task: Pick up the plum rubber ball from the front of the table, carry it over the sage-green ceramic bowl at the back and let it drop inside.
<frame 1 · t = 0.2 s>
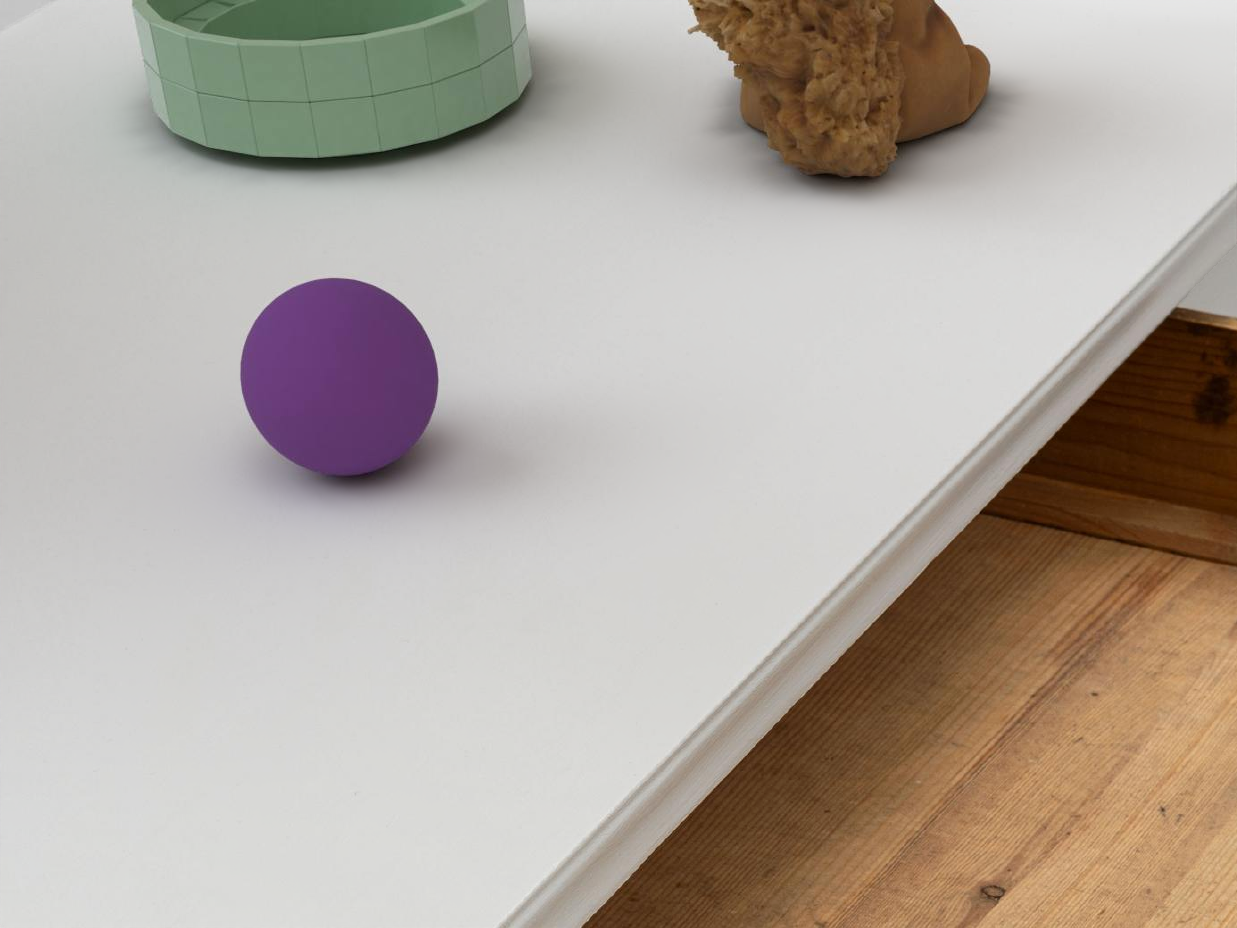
stuffed squirrel: (843, 143, 101), on the table
bowl: (346, 98, 106), on the table
ball: (354, 463, 82), on the table
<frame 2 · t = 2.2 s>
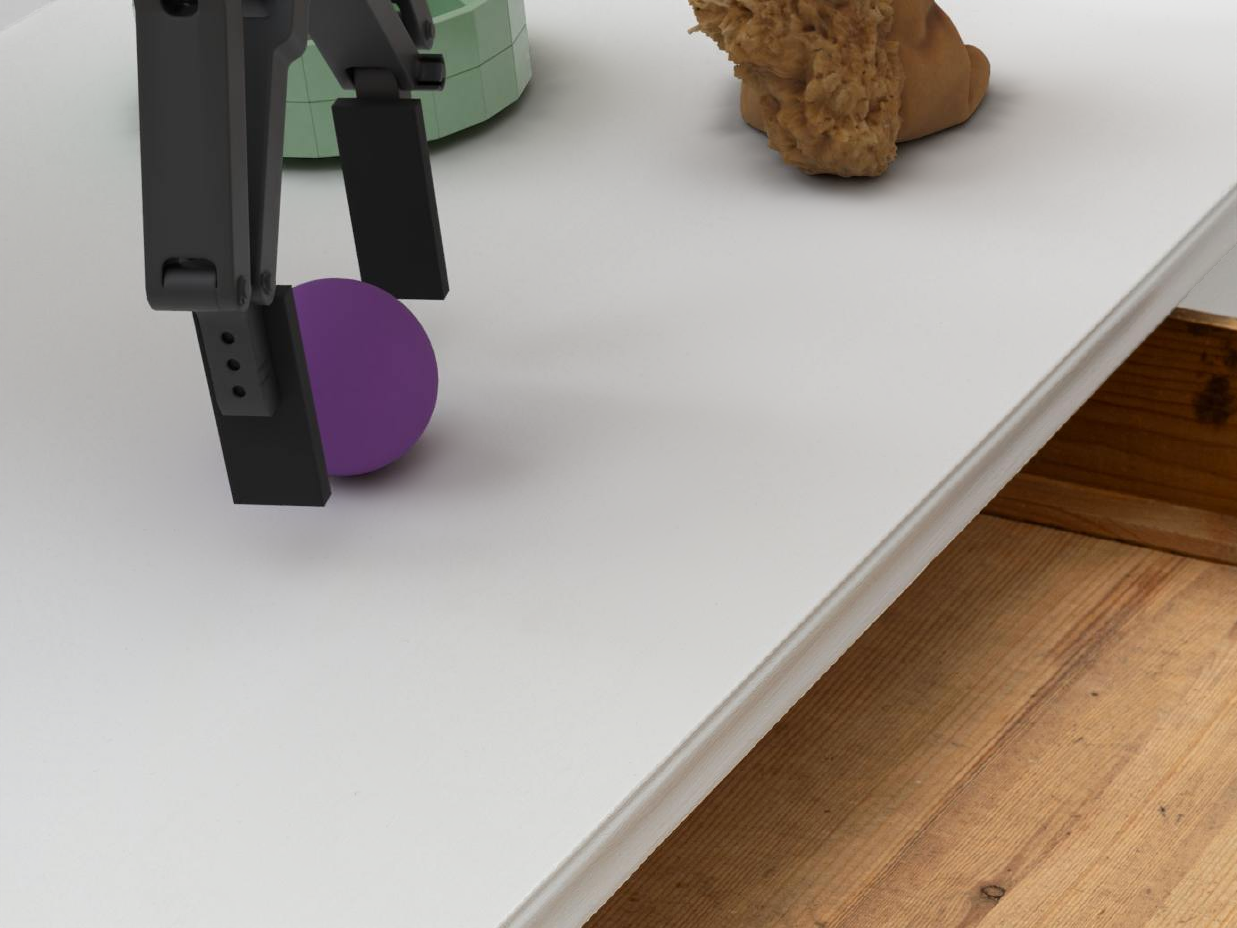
hand: (349, 391, 80), 3 cm above the table, tool pointing down, fingers open, 13 cm apart
nothing on the table moved.
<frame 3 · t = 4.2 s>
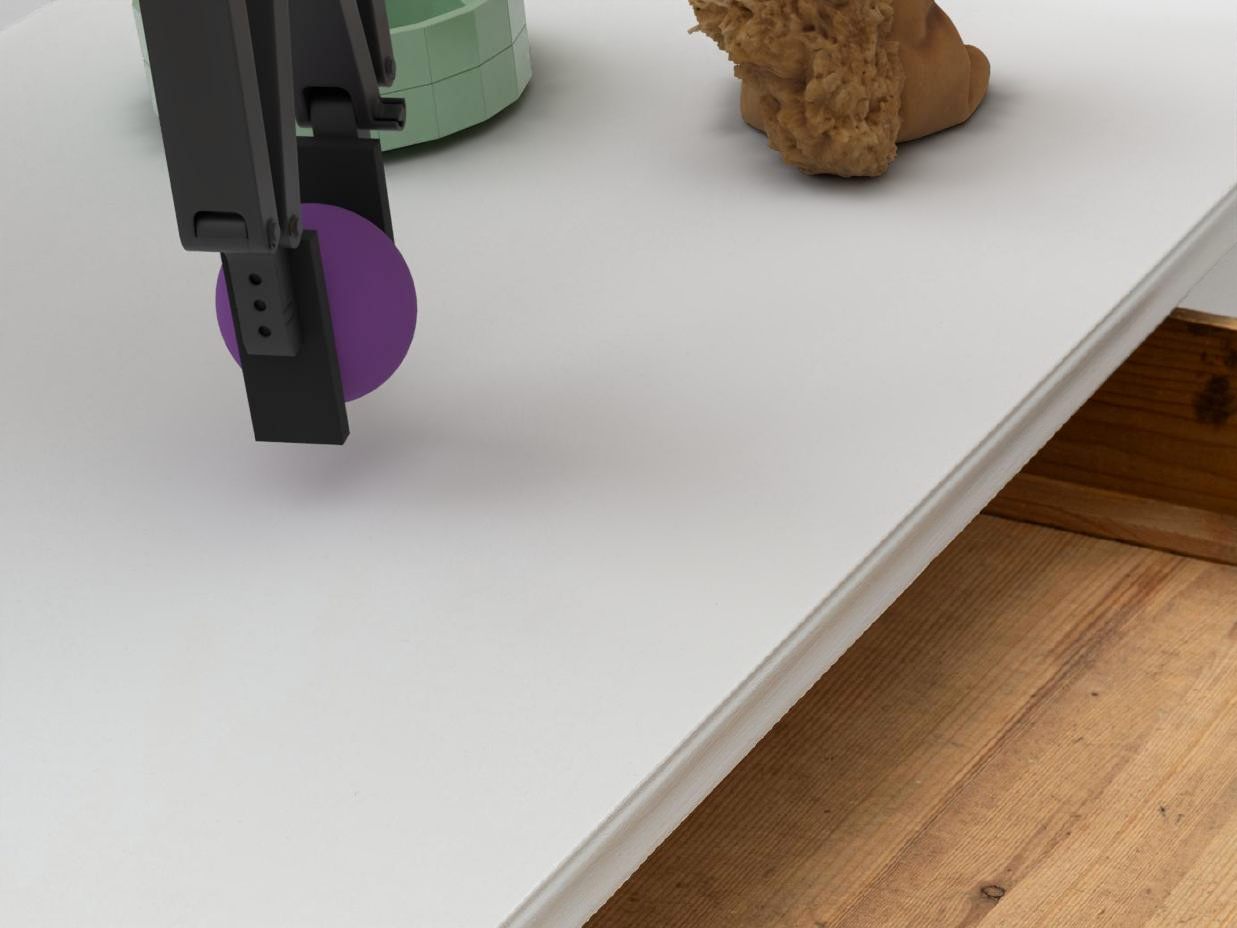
hand: (334, 384, 80), 3 cm above the table, tool pointing down, fingers closed on ball, 6 cm apart
ball: (331, 394, 80), point 2 cm above the table, touching gripper
everything else where it was.
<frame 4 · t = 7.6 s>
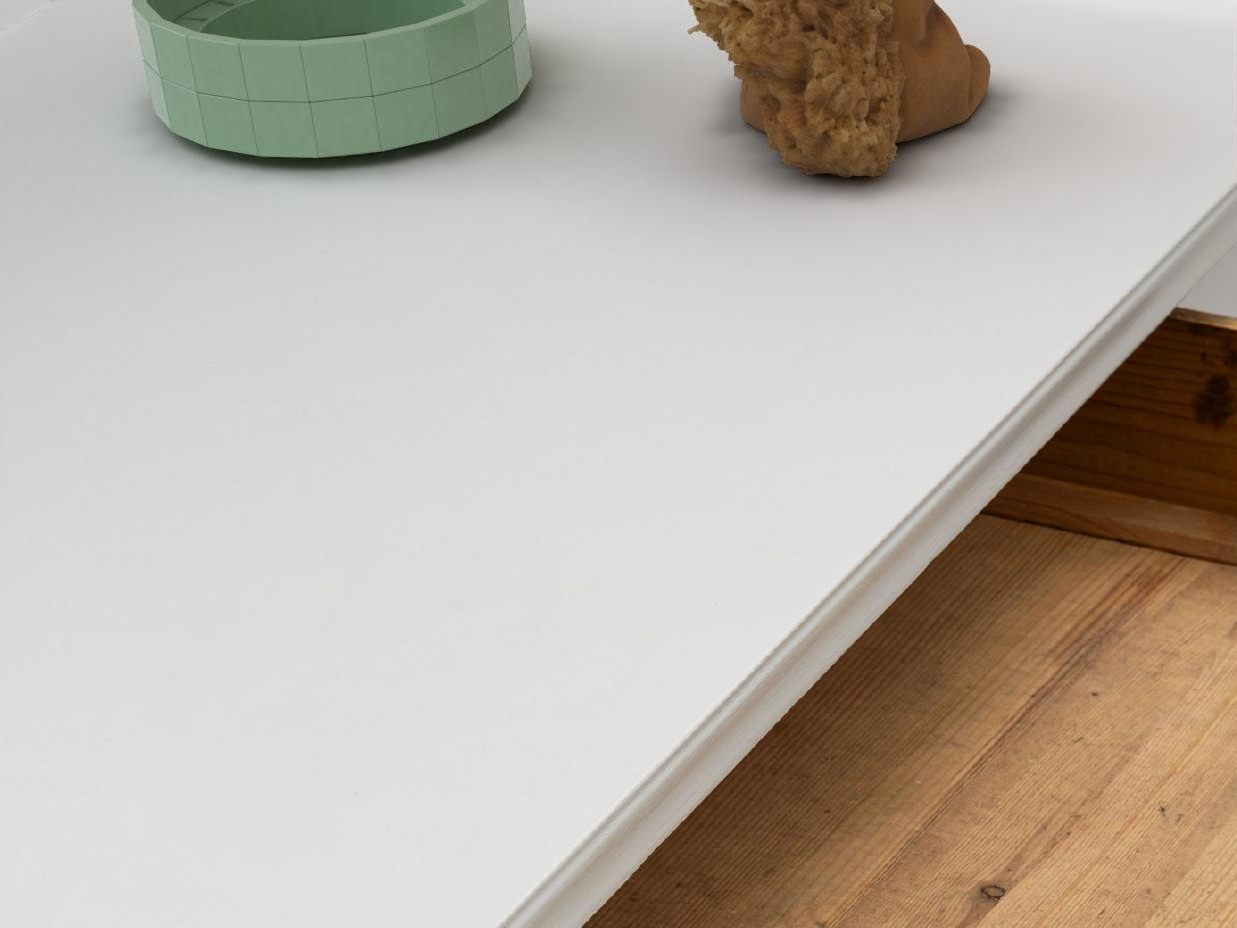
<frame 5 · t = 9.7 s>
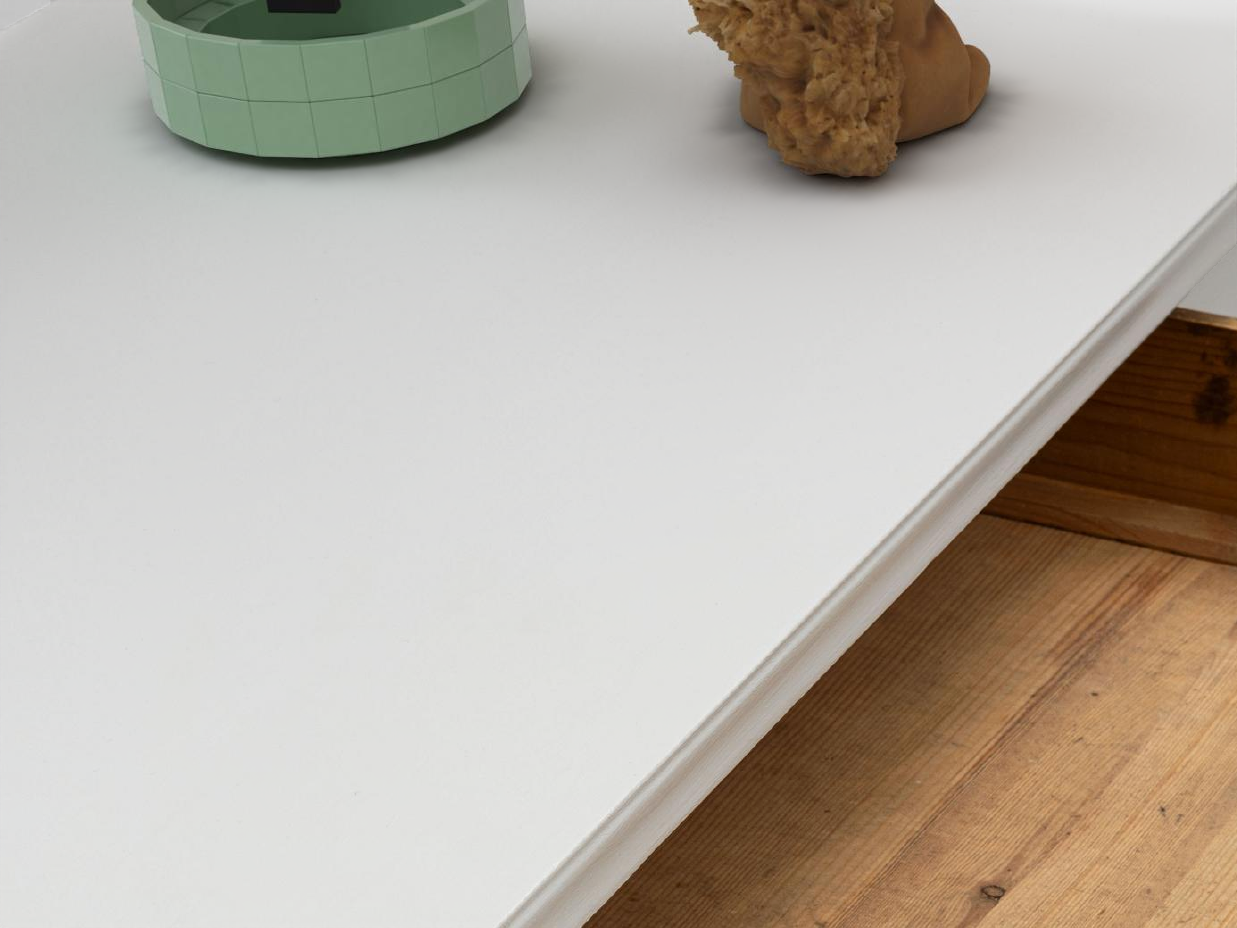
when the fingers open (3 cm above the table, at t = 11.4 s): ball stays where it is, resting on bowl.
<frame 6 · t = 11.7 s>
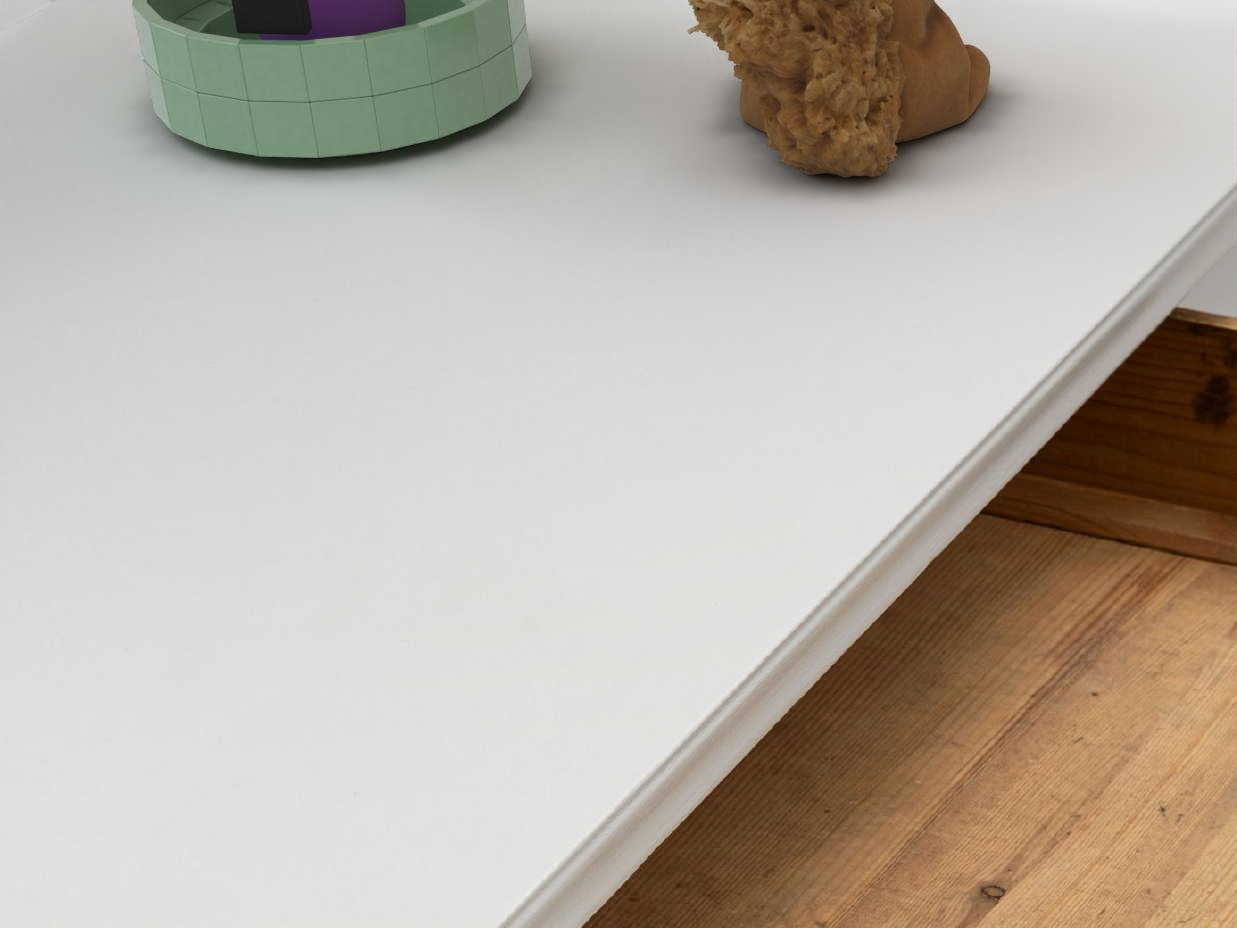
ball: (341, 83, 105), point 1 cm above the table, touching bowl
everything else where it was.
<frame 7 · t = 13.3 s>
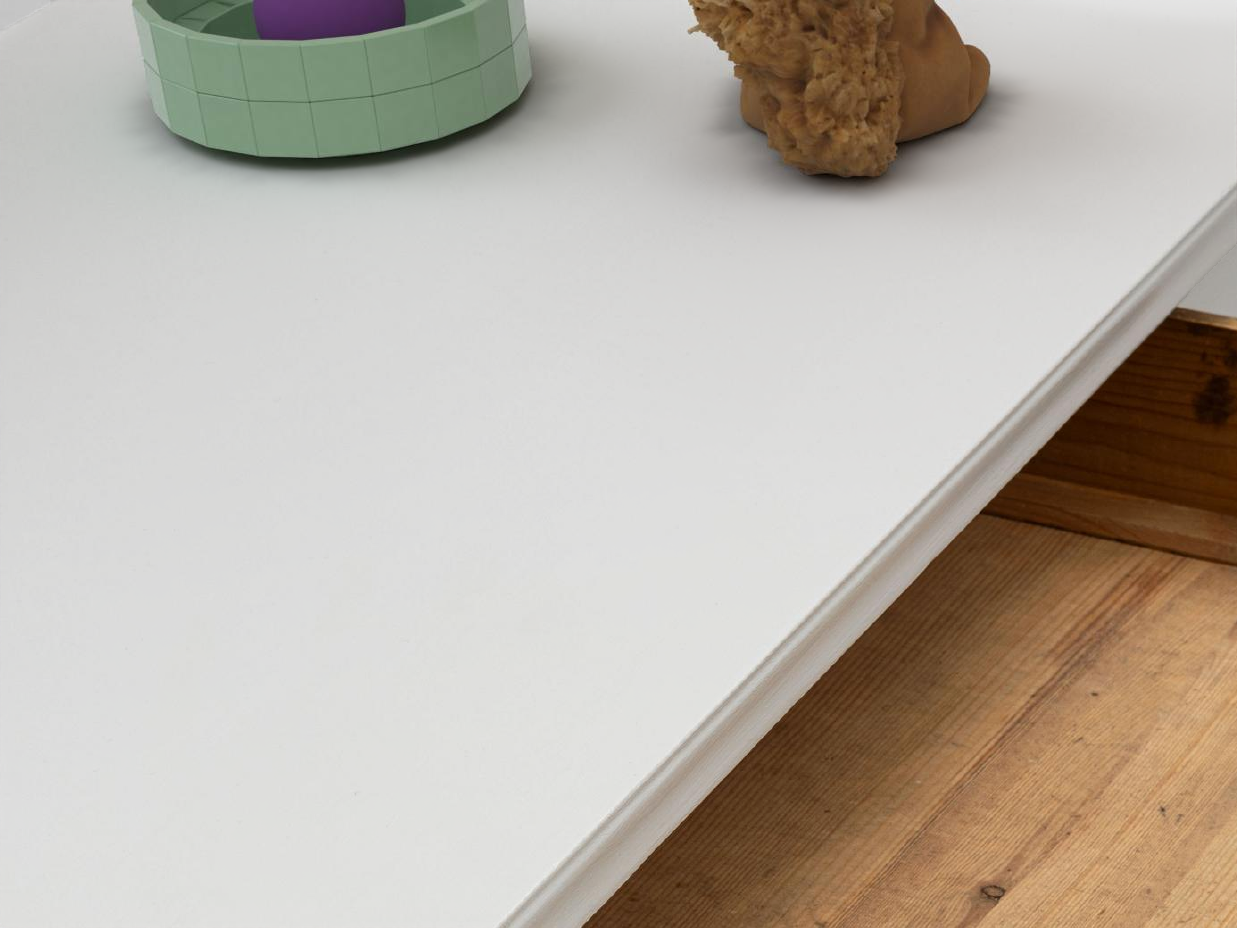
nothing on the table moved.
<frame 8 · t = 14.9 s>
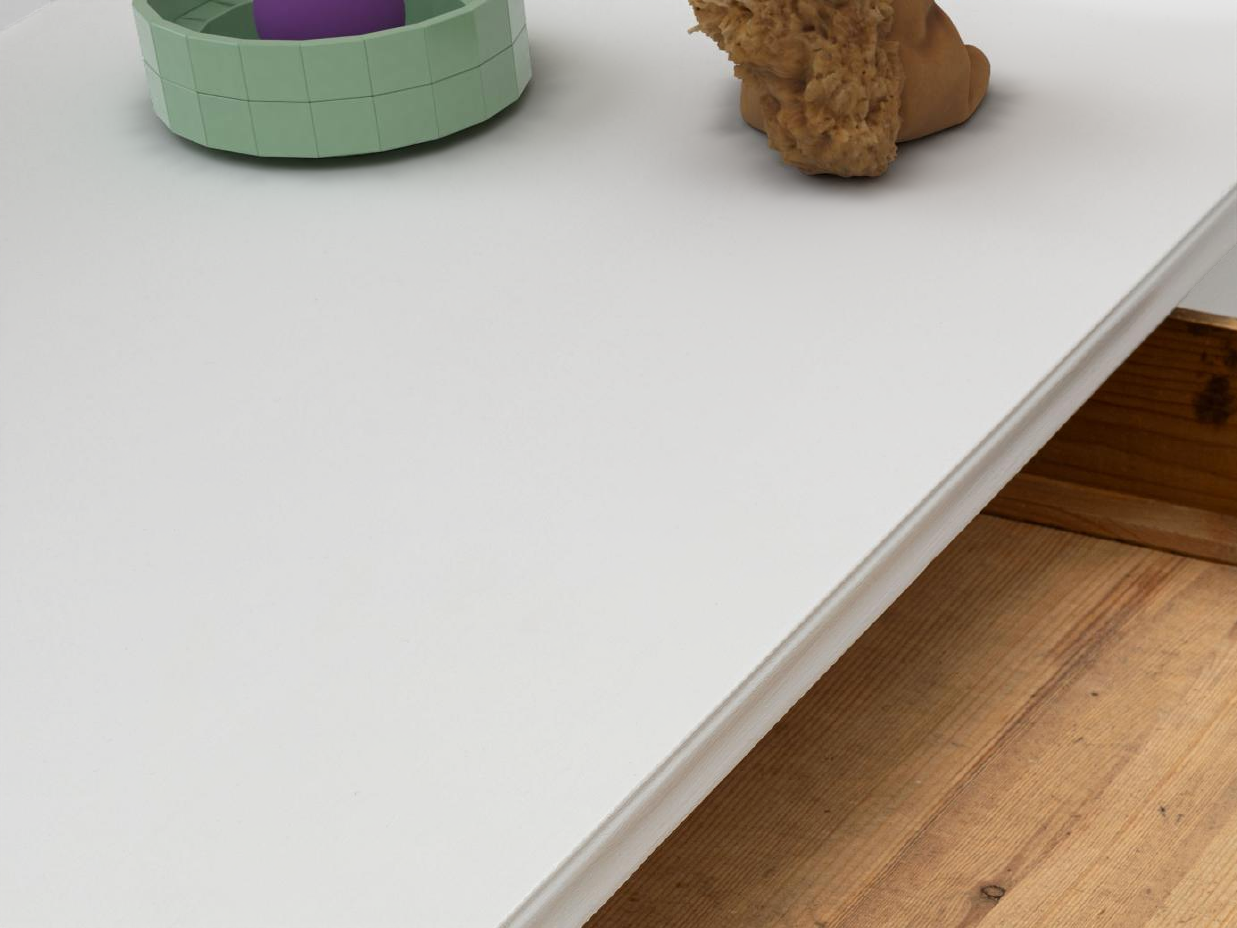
nothing on the table moved.
at the end: ball inside the target area in the bowl (0.1 cm from its centre), point 0.6 cm above the bowl's base; the gripper is holding nothing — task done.
